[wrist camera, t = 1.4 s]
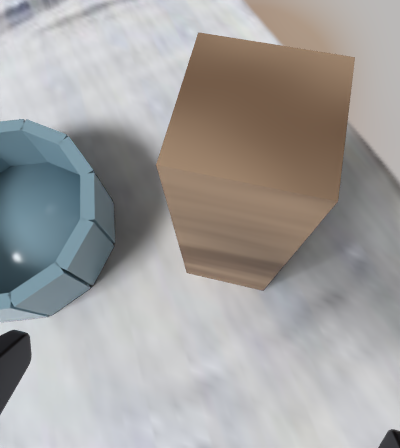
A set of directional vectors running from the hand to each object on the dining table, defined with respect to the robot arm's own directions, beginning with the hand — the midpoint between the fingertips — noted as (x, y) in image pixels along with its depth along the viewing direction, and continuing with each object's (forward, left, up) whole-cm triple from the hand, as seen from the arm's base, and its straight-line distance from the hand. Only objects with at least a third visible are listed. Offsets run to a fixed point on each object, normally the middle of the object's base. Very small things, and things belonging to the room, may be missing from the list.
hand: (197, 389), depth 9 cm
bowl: (-4, +14, -13) cm, 20 cm away
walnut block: (+6, +5, -13) cm, 15 cm away
